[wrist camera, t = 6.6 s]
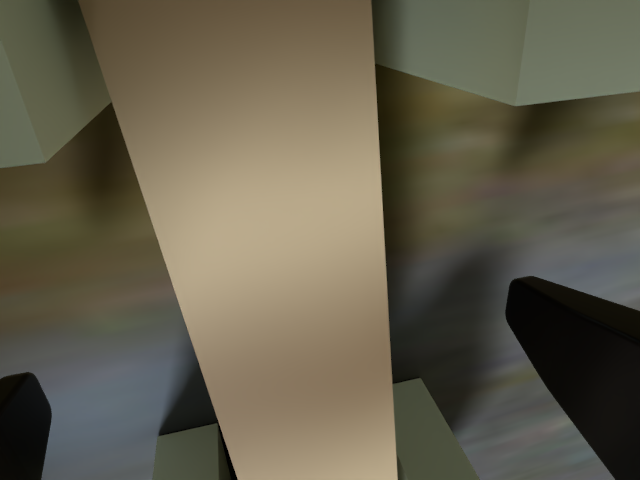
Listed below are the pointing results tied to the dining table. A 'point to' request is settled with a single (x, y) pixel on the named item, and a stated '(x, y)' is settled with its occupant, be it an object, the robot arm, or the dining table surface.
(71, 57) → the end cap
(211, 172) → the slat
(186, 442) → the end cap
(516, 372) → the dining table surface
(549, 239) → the dining table surface
